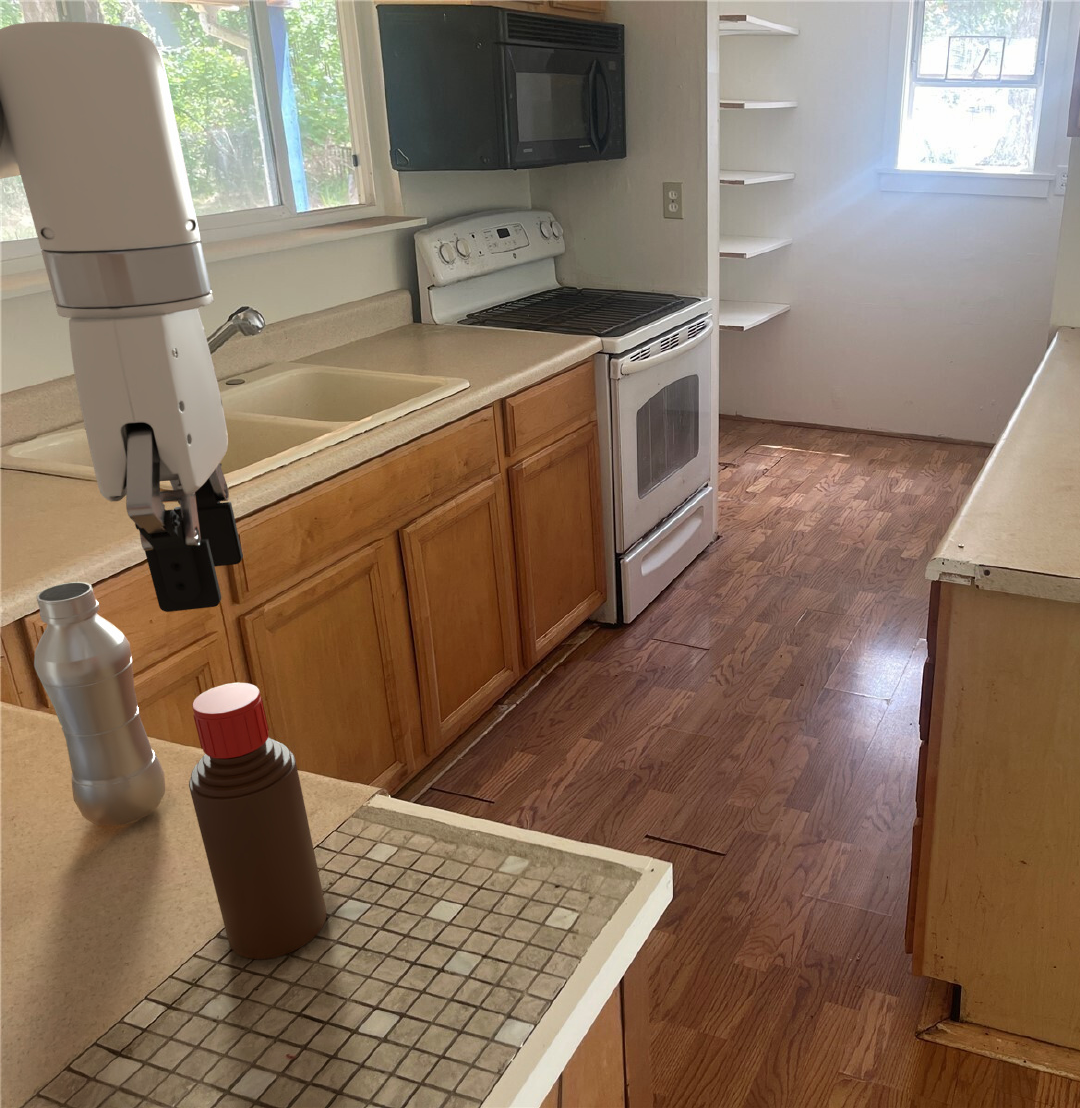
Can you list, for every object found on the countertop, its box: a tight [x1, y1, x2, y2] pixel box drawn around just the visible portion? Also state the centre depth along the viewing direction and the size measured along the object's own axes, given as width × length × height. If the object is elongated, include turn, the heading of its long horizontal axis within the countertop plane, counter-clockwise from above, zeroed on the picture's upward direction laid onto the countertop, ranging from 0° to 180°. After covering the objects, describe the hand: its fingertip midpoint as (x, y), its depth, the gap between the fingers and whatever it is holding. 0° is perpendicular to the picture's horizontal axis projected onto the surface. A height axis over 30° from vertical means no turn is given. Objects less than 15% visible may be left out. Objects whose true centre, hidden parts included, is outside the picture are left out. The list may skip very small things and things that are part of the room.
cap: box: [191, 682, 270, 759], centre depth 66 cm, size 4×4×3 cm
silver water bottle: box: [33, 581, 166, 827], centre depth 81 cm, size 6×7×20 cm
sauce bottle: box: [188, 736, 328, 960], centre depth 70 cm, size 6×6×18 cm
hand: (204, 582), depth 63 cm, fingers open, 5 cm apart
